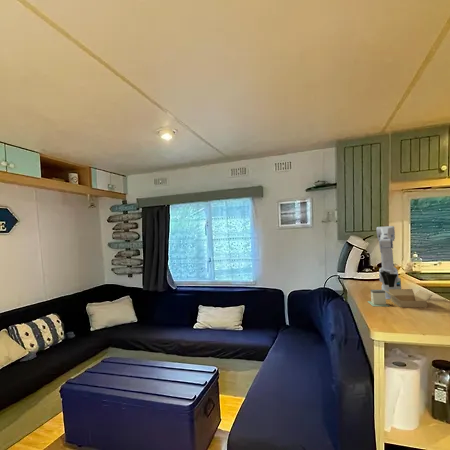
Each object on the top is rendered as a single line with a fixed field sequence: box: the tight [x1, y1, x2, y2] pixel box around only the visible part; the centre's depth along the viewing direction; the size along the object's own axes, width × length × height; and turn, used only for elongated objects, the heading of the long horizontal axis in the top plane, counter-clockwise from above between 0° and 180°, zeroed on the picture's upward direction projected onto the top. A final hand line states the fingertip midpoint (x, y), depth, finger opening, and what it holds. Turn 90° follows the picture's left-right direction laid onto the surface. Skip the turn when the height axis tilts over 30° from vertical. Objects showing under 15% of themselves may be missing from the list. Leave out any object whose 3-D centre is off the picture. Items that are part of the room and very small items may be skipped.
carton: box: [384, 288, 433, 308], centre depth 158 cm, size 18×18×6 cm
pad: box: [367, 300, 391, 307], centre depth 159 cm, size 12×8×1 cm, turn 167°
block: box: [370, 289, 387, 304], centre depth 160 cm, size 4×6×7 cm
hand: (389, 285), depth 161 cm, fingers open, 7 cm apart
